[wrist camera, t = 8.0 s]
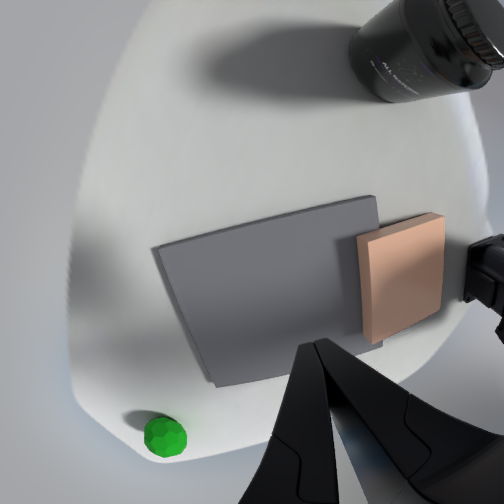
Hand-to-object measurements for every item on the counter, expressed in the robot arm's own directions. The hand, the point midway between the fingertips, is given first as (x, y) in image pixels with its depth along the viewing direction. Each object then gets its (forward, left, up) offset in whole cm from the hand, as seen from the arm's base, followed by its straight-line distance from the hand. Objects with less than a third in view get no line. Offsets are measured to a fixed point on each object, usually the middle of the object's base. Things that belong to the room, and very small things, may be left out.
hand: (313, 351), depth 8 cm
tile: (-6, +6, -11) cm, 14 cm away
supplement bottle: (-12, -11, -13) cm, 21 cm away
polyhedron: (+16, +19, -13) cm, 28 cm away
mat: (0, +6, -13) cm, 14 cm away
